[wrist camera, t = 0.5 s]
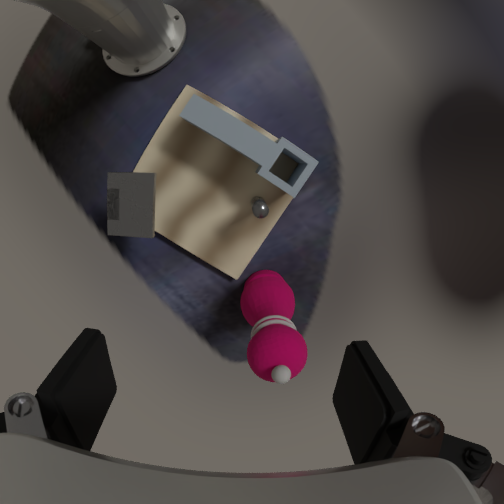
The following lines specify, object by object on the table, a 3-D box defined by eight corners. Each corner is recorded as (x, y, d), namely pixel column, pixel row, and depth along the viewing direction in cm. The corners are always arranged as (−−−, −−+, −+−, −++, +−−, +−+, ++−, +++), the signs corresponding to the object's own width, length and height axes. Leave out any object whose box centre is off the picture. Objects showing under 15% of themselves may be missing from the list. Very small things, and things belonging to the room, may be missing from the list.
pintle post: (247, 203, 40) (249, 212, 33) (255, 192, 39) (258, 199, 32) (258, 210, 40) (263, 221, 33) (266, 199, 40) (272, 208, 33)
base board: (118, 204, 39) (115, 205, 38) (188, 86, 35) (186, 84, 34) (237, 276, 43) (237, 280, 42) (313, 164, 39) (315, 164, 37)
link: (183, 128, 35) (174, 123, 30) (204, 96, 34) (198, 86, 29) (287, 193, 38) (294, 198, 33) (308, 162, 37) (318, 162, 32)
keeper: (173, 170, 38) (154, 173, 29) (171, 221, 40) (152, 238, 31) (135, 169, 38) (107, 172, 29) (134, 219, 40) (107, 235, 31)
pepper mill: (253, 318, 45) (261, 416, 26) (231, 278, 43) (226, 367, 24) (296, 299, 44) (331, 389, 25) (277, 257, 42) (306, 335, 23)
